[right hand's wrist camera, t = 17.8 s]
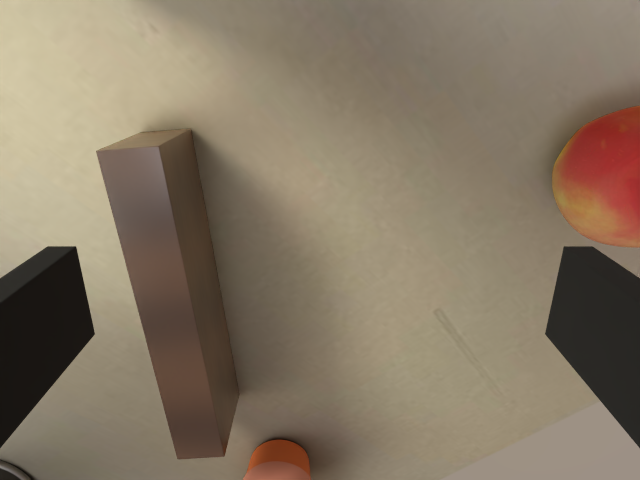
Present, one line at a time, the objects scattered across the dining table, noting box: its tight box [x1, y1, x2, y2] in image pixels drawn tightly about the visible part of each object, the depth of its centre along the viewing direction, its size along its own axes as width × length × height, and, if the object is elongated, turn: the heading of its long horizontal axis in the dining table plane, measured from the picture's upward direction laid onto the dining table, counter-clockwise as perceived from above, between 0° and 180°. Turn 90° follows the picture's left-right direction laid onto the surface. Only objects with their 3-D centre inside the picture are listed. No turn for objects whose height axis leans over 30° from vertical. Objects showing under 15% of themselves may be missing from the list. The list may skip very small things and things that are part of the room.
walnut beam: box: [96, 129, 239, 459], centre depth 36 cm, size 26×4×8 cm, turn 4°
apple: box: [552, 106, 640, 247], centre depth 31 cm, size 10×10×10 cm
